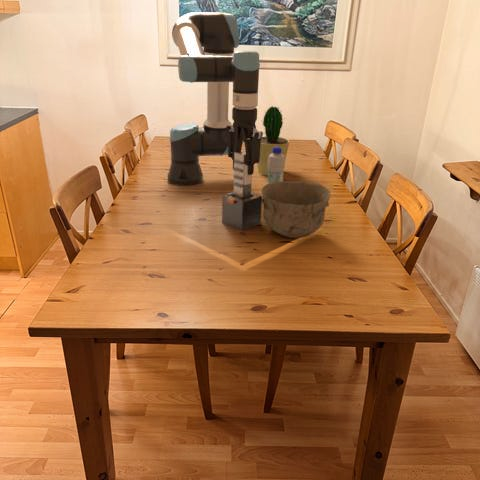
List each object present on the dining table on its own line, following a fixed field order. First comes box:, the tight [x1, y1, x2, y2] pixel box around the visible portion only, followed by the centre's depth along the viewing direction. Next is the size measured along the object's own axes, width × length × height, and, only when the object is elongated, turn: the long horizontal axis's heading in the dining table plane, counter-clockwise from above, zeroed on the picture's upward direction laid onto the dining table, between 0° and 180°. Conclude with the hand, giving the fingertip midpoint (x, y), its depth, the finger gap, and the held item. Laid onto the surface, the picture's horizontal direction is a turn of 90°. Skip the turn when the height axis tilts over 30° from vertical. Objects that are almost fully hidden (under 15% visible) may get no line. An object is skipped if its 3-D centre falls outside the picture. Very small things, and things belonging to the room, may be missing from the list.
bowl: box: [261, 180, 332, 239], centre depth 143 cm, size 22×22×15 cm
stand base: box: [221, 191, 263, 232], centre depth 149 cm, size 14×14×11 cm
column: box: [233, 149, 252, 200], centre depth 145 cm, size 4×5×22 cm
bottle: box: [266, 147, 286, 185], centre depth 173 cm, size 7×7×20 cm
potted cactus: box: [256, 105, 291, 177], centre depth 200 cm, size 15×15×30 cm
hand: (242, 181), depth 144 cm, fingers closed on column, 4 cm apart
